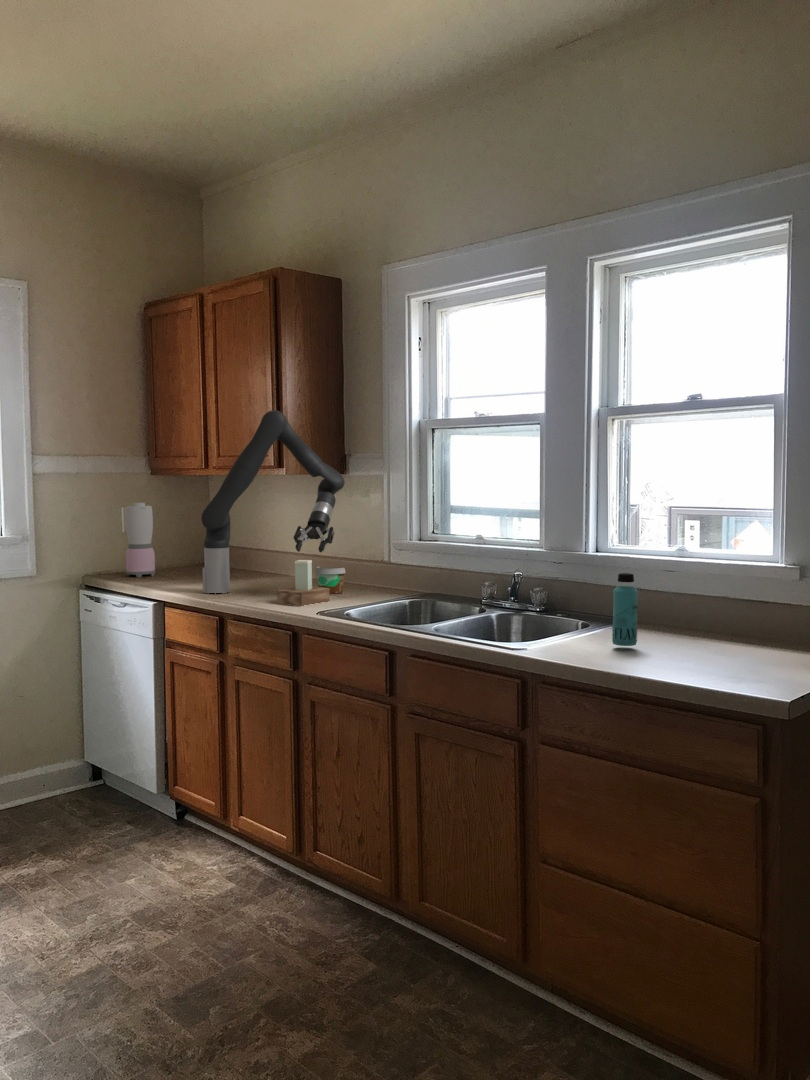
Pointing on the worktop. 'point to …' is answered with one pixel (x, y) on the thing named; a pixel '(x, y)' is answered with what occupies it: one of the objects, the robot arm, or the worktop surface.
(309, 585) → the tea tin
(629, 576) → the beverage bottle
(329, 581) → the food container
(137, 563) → the blender
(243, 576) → the worktop surface
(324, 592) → the walnut box
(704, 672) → the worktop surface
